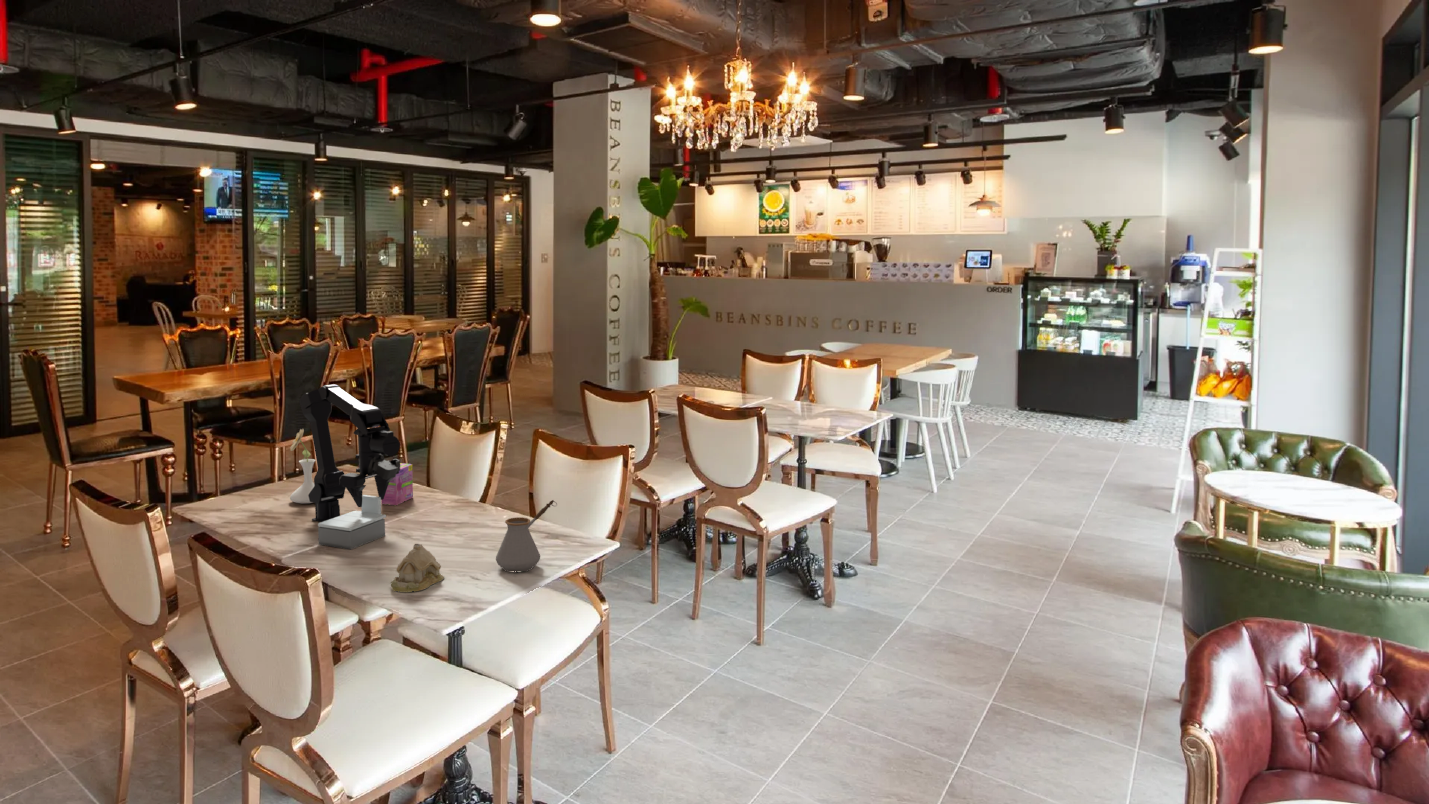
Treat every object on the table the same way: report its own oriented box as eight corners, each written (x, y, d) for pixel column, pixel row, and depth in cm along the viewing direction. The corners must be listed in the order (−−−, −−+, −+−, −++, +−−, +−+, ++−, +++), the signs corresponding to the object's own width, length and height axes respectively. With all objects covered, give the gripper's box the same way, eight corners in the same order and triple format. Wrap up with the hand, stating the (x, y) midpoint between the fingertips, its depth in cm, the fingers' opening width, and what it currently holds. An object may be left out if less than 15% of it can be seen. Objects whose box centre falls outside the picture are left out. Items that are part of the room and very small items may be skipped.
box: (396, 505, 286) (395, 470, 285) (381, 504, 288) (379, 469, 286) (413, 498, 297) (412, 463, 295) (398, 496, 298) (397, 462, 296)
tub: (318, 544, 246) (318, 527, 245) (354, 531, 259) (353, 514, 258) (350, 549, 242) (349, 532, 241) (385, 535, 255) (384, 518, 254)
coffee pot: (521, 578, 224) (520, 521, 221) (486, 570, 229) (485, 514, 226) (571, 555, 242) (571, 502, 240) (538, 548, 248) (538, 496, 245)
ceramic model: (407, 572, 226) (406, 535, 224) (449, 574, 225) (448, 537, 224) (382, 592, 212) (381, 552, 211) (428, 594, 211) (427, 554, 210)
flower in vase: (297, 497, 294) (293, 423, 290) (332, 497, 295) (329, 423, 291) (282, 507, 281) (278, 431, 277) (319, 507, 282) (316, 431, 278)
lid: (317, 526, 245) (317, 506, 244) (357, 512, 259) (357, 493, 259) (349, 531, 241) (349, 511, 240) (388, 516, 256) (387, 497, 255)
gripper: (369, 460, 243) (371, 514, 245) (413, 447, 260) (414, 498, 263) (337, 456, 247) (339, 510, 249) (382, 444, 264) (384, 494, 266)
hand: (370, 503), depth 257 cm, fingers open, 9 cm apart
